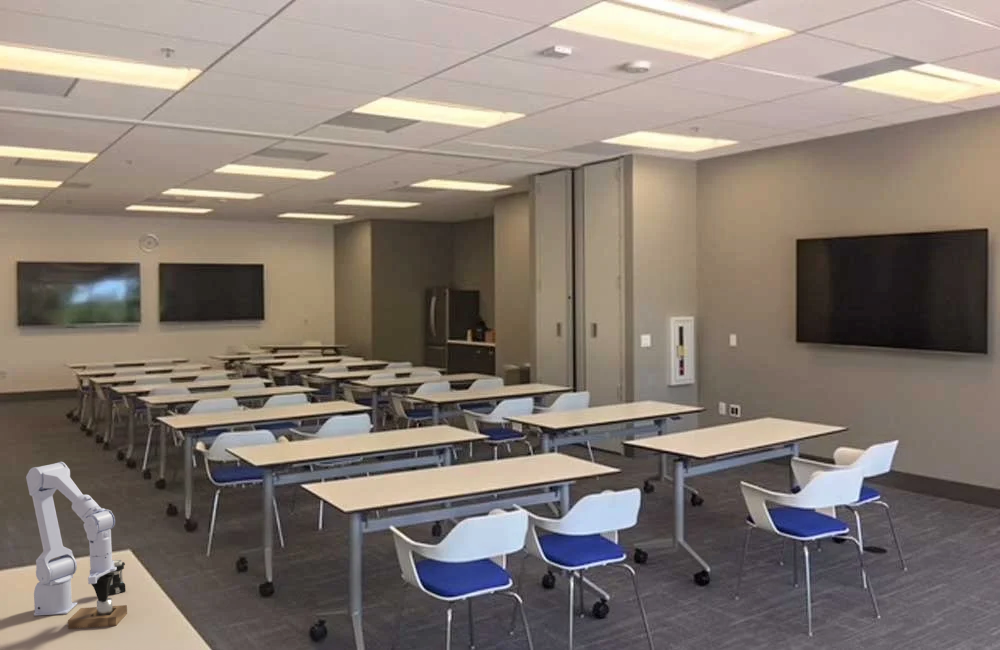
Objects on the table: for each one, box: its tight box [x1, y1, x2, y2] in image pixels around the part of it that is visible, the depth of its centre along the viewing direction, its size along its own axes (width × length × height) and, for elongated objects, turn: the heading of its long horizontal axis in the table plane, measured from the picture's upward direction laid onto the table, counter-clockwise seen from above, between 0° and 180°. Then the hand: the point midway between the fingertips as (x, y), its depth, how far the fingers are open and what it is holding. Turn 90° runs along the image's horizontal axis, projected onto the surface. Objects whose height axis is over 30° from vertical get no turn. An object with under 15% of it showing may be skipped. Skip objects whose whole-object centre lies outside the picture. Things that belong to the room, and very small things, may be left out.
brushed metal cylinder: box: [96, 597, 113, 616], centre depth 235 cm, size 4×4×6 cm
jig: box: [67, 604, 128, 630], centre depth 235 cm, size 13×9×2 cm
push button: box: [108, 559, 127, 596], centre depth 257 cm, size 7×5×10 cm
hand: (102, 599), depth 235 cm, fingers closed
